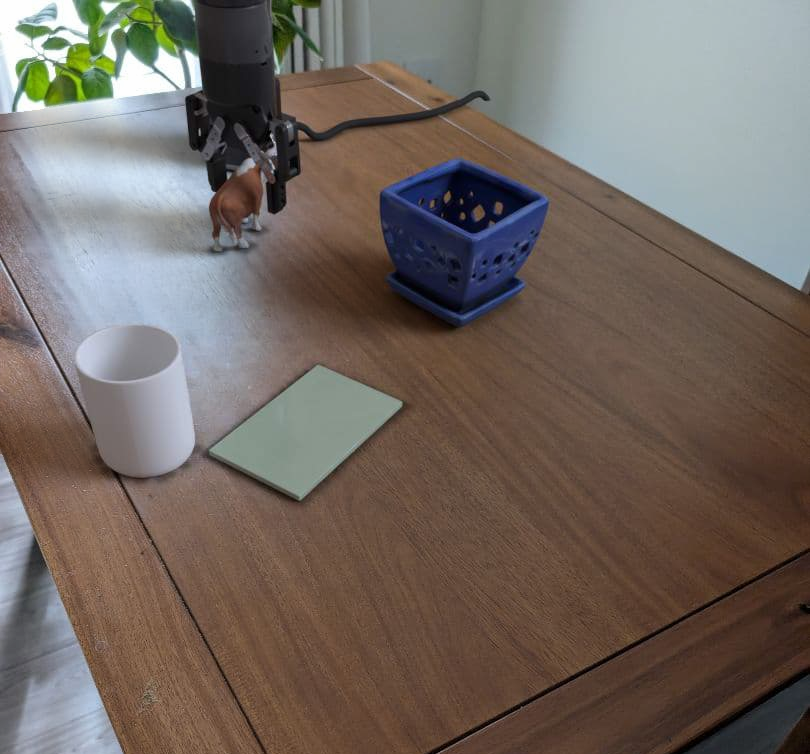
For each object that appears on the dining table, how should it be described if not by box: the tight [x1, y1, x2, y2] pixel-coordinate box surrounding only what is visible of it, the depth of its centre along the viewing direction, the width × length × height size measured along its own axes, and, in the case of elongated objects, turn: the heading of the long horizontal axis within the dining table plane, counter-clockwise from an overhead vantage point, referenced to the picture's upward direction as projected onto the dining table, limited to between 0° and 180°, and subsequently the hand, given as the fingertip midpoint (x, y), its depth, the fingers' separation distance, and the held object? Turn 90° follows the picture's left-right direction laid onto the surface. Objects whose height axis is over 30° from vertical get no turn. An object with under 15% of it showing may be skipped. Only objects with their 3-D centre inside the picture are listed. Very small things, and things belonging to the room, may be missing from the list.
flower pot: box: [379, 157, 550, 328], centre depth 91 cm, size 13×13×12 cm
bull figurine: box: [208, 151, 275, 253], centre depth 100 cm, size 4×13×8 cm, turn 160°
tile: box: [208, 364, 403, 502], centre depth 79 cm, size 16×10×1 cm, turn 147°
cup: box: [73, 322, 196, 479], centre depth 73 cm, size 8×12×10 cm
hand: (247, 200), depth 100 cm, fingers open, 8 cm apart
